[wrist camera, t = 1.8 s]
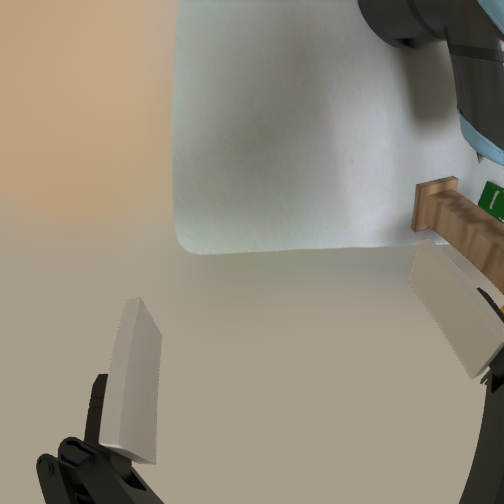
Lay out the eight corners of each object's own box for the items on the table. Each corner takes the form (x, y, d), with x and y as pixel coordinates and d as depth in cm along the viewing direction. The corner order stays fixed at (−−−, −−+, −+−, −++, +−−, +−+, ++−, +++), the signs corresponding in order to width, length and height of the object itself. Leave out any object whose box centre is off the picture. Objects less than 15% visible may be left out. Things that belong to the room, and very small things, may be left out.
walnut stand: (411, 228, 51) (504, 321, 28) (416, 184, 45) (530, 272, 22) (447, 216, 51) (533, 292, 29) (453, 176, 46) (553, 248, 23)
